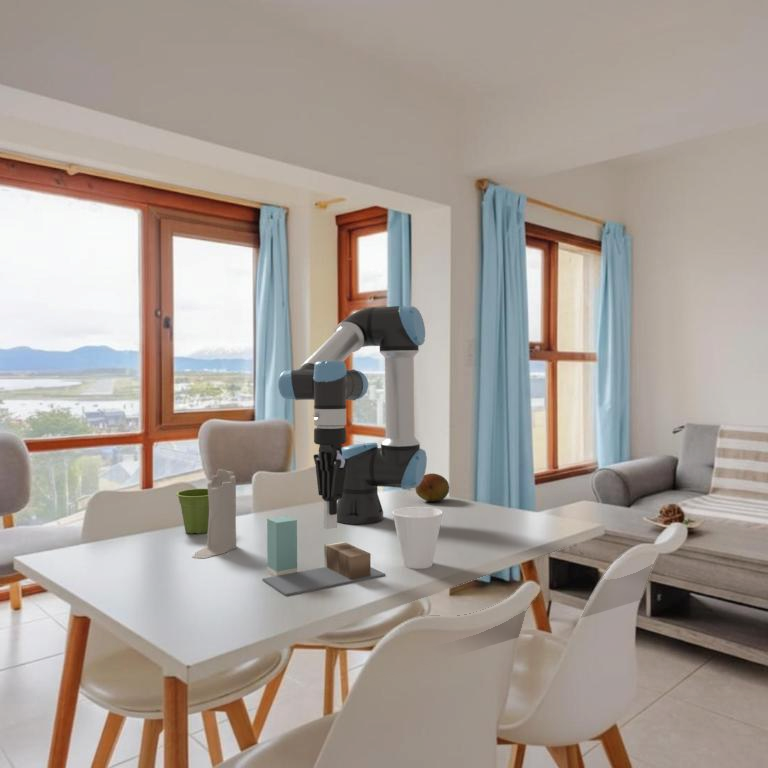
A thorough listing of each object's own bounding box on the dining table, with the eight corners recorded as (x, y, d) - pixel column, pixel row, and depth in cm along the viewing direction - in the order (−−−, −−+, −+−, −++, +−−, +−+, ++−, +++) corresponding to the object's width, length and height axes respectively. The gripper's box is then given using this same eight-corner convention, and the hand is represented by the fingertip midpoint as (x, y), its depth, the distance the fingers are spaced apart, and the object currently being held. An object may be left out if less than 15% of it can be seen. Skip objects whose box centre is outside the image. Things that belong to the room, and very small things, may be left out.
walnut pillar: (324, 544, 151) (350, 557, 141) (343, 541, 153) (370, 553, 143) (324, 566, 151) (350, 580, 141) (343, 562, 154) (370, 576, 144)
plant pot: (167, 534, 183) (167, 494, 183) (194, 525, 194) (194, 487, 194) (202, 538, 179) (202, 497, 179) (228, 528, 190) (227, 489, 190)
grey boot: (185, 557, 160) (184, 475, 160) (218, 543, 173) (217, 468, 173) (210, 559, 158) (209, 477, 158) (241, 545, 171) (241, 469, 171)
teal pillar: (267, 571, 148) (267, 518, 148) (287, 567, 151) (287, 516, 151) (276, 577, 144) (276, 522, 144) (297, 573, 147) (296, 520, 147)
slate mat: (262, 580, 142) (262, 578, 142) (357, 562, 155) (357, 560, 155) (285, 596, 132) (285, 594, 132) (385, 575, 145) (385, 573, 145)
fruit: (413, 504, 224) (413, 475, 224) (418, 497, 237) (418, 469, 236) (448, 505, 222) (447, 476, 222) (450, 498, 235) (450, 470, 235)
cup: (428, 575, 145) (428, 519, 145) (382, 566, 151) (382, 513, 151) (451, 562, 155) (451, 509, 155) (408, 554, 161) (408, 504, 161)
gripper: (303, 425, 156) (303, 524, 157) (328, 429, 145) (329, 535, 146) (331, 424, 160) (331, 520, 161) (358, 428, 149) (358, 531, 150)
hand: (330, 527), depth 153 cm, fingers closed
